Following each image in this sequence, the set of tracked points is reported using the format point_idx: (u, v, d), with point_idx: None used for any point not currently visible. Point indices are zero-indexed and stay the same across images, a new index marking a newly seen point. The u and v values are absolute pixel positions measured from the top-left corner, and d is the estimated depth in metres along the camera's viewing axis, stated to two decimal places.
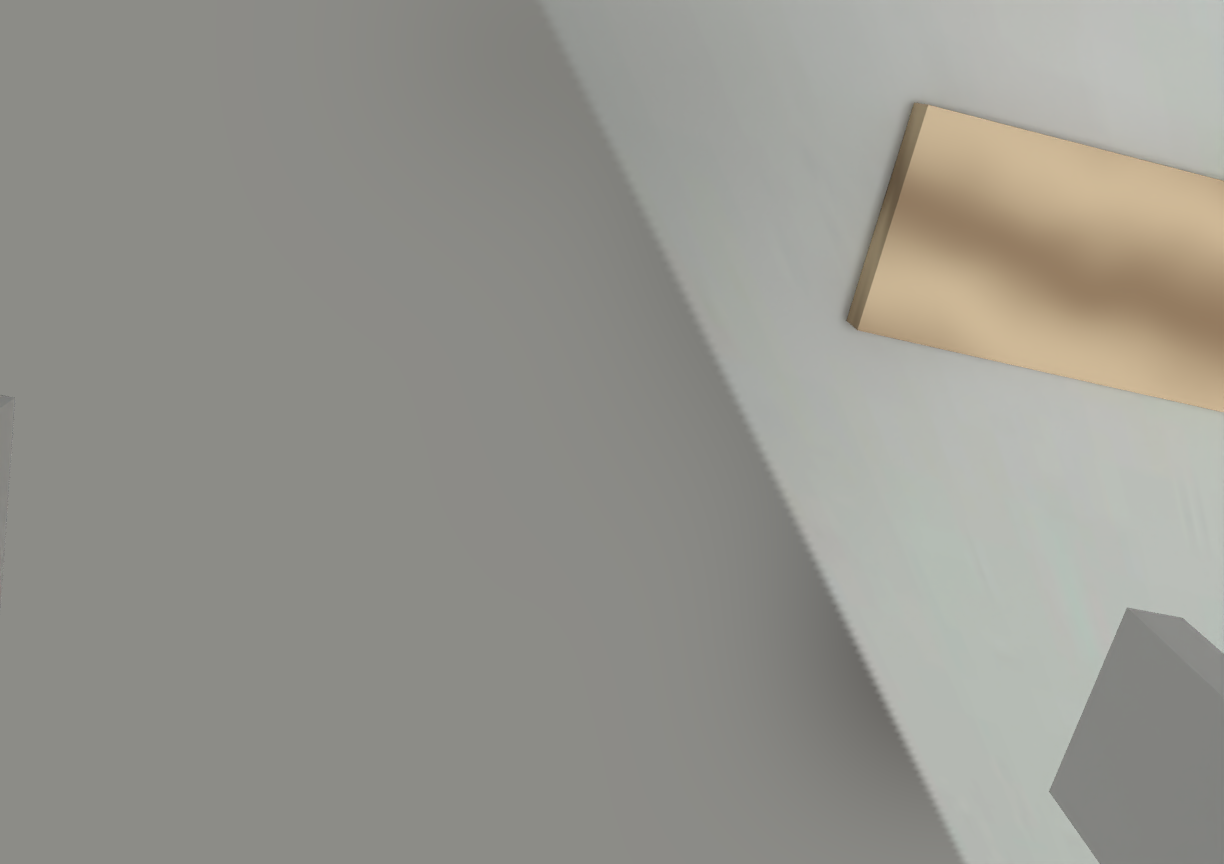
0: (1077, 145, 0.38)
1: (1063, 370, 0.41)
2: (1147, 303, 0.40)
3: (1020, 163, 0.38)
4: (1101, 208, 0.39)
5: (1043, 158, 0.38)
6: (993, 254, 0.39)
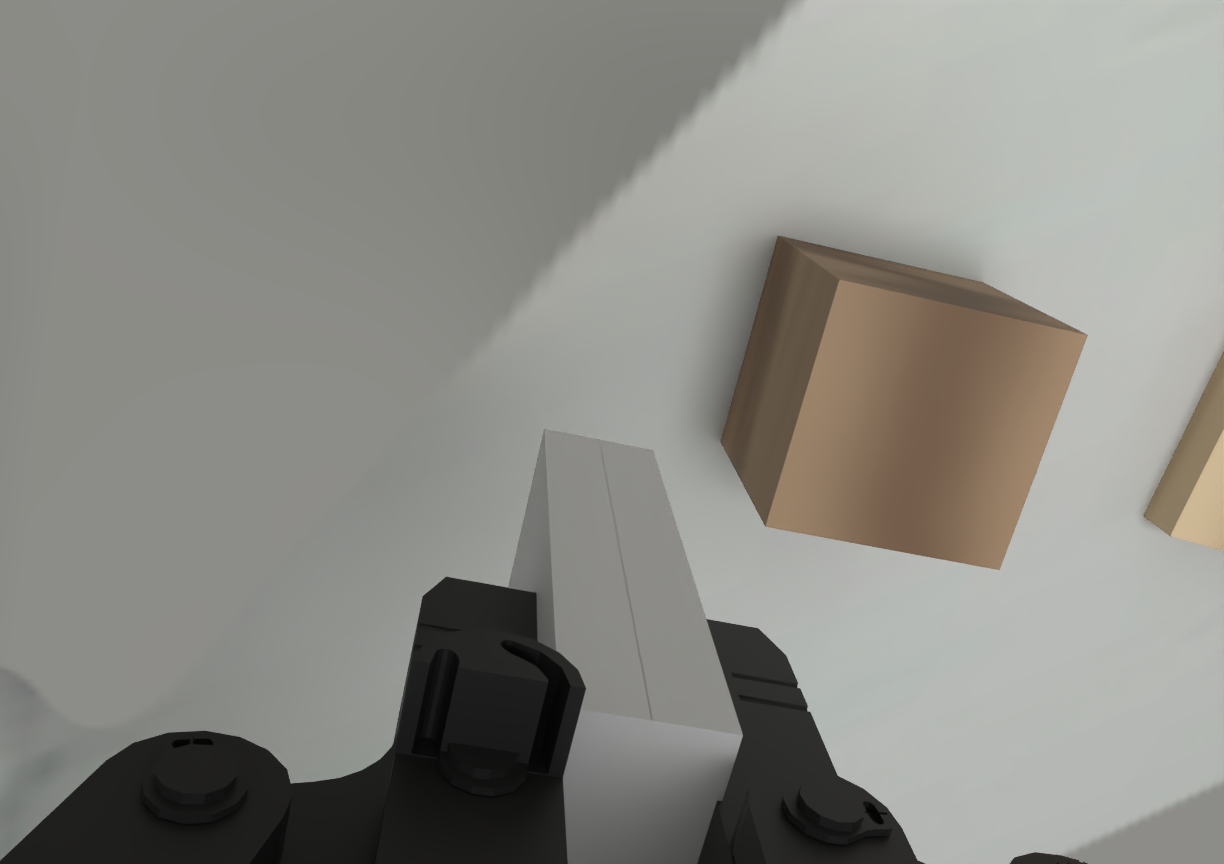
0: None
1: None
2: None
3: None
4: None
5: None
6: None
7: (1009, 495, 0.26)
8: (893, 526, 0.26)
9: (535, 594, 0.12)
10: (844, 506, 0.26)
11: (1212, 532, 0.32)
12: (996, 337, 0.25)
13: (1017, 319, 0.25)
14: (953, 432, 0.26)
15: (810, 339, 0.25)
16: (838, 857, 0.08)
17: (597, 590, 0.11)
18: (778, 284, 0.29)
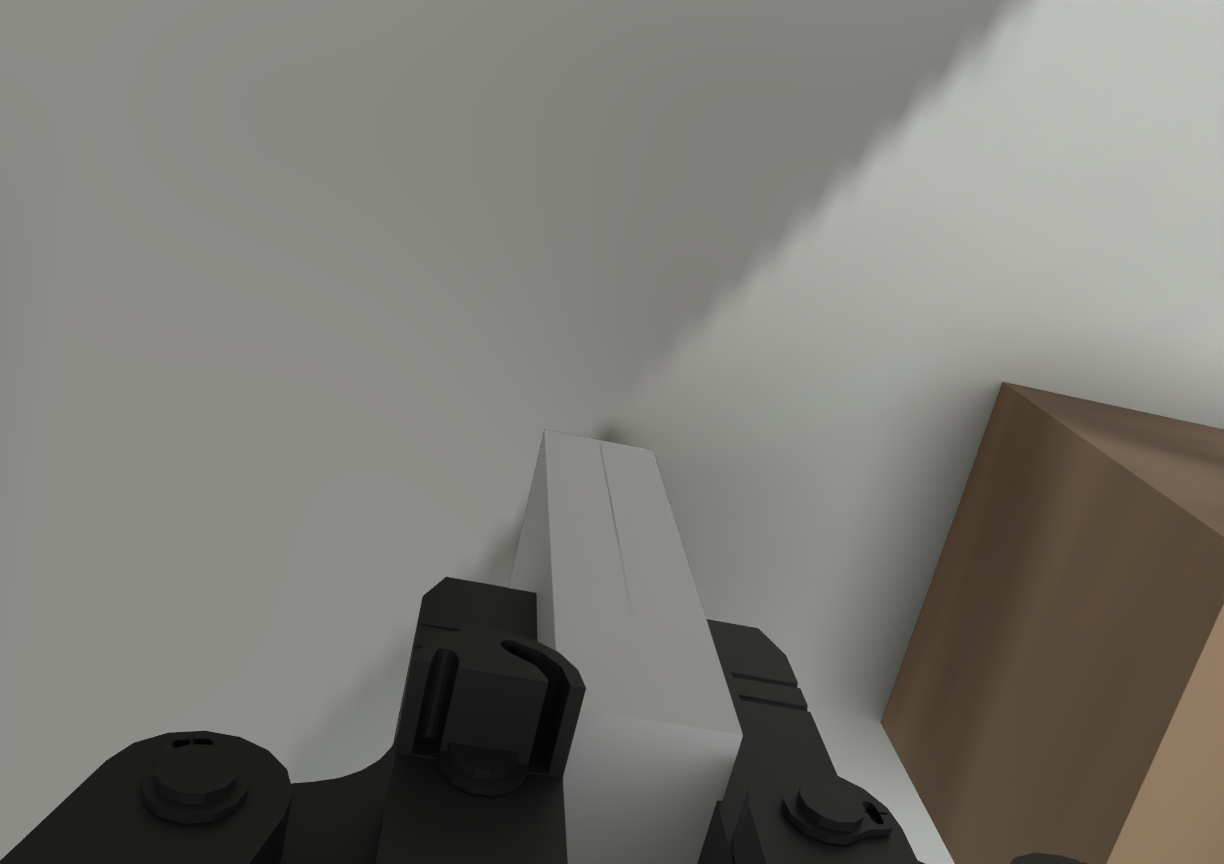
0: None
1: None
2: None
3: None
4: None
5: None
6: None
7: None
8: None
9: (535, 594, 0.12)
10: None
11: None
12: None
13: None
14: None
15: (1145, 652, 0.12)
16: (838, 857, 0.08)
17: (597, 590, 0.11)
18: (1015, 481, 0.16)
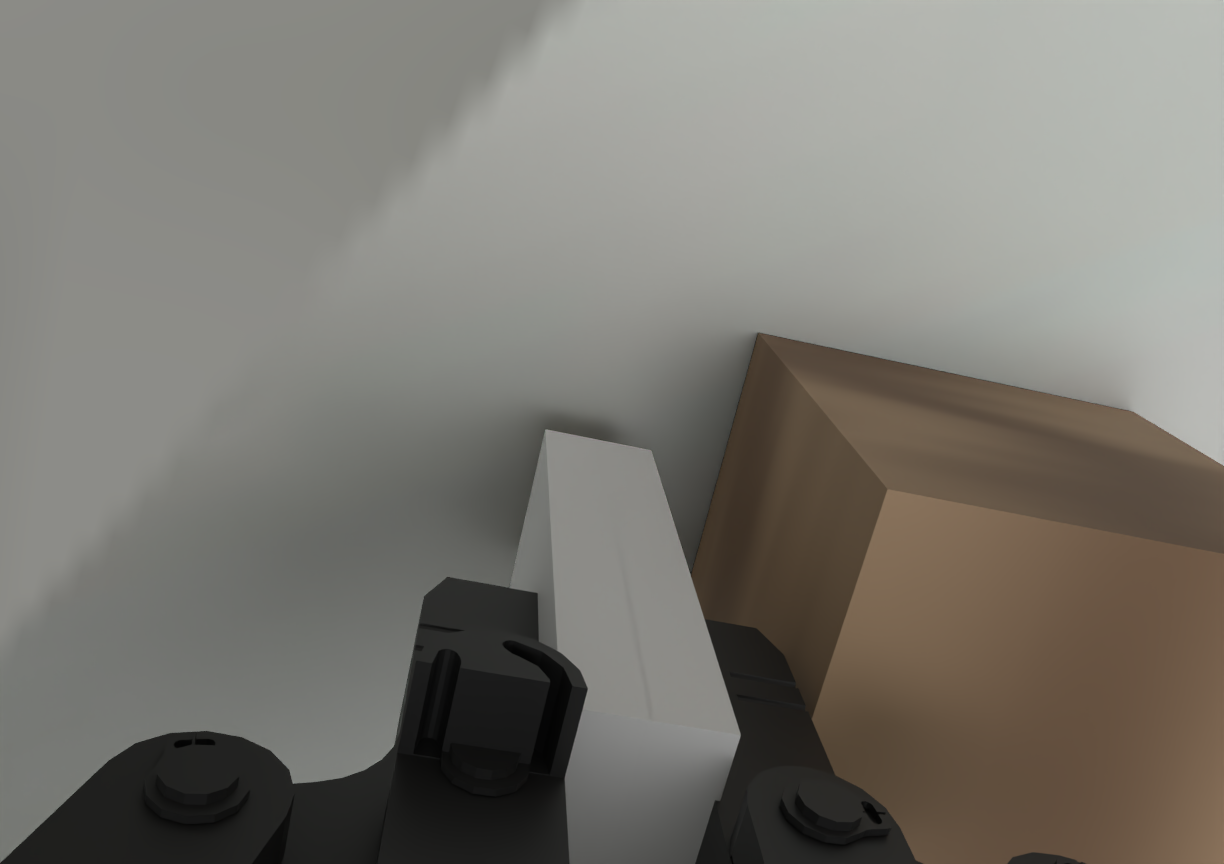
0: None
1: None
2: None
3: None
4: None
5: None
6: None
7: None
8: None
9: (537, 594, 0.12)
10: None
11: None
12: None
13: None
14: (1132, 797, 0.12)
15: (818, 599, 0.12)
16: (837, 857, 0.08)
17: (598, 590, 0.11)
18: (758, 434, 0.15)
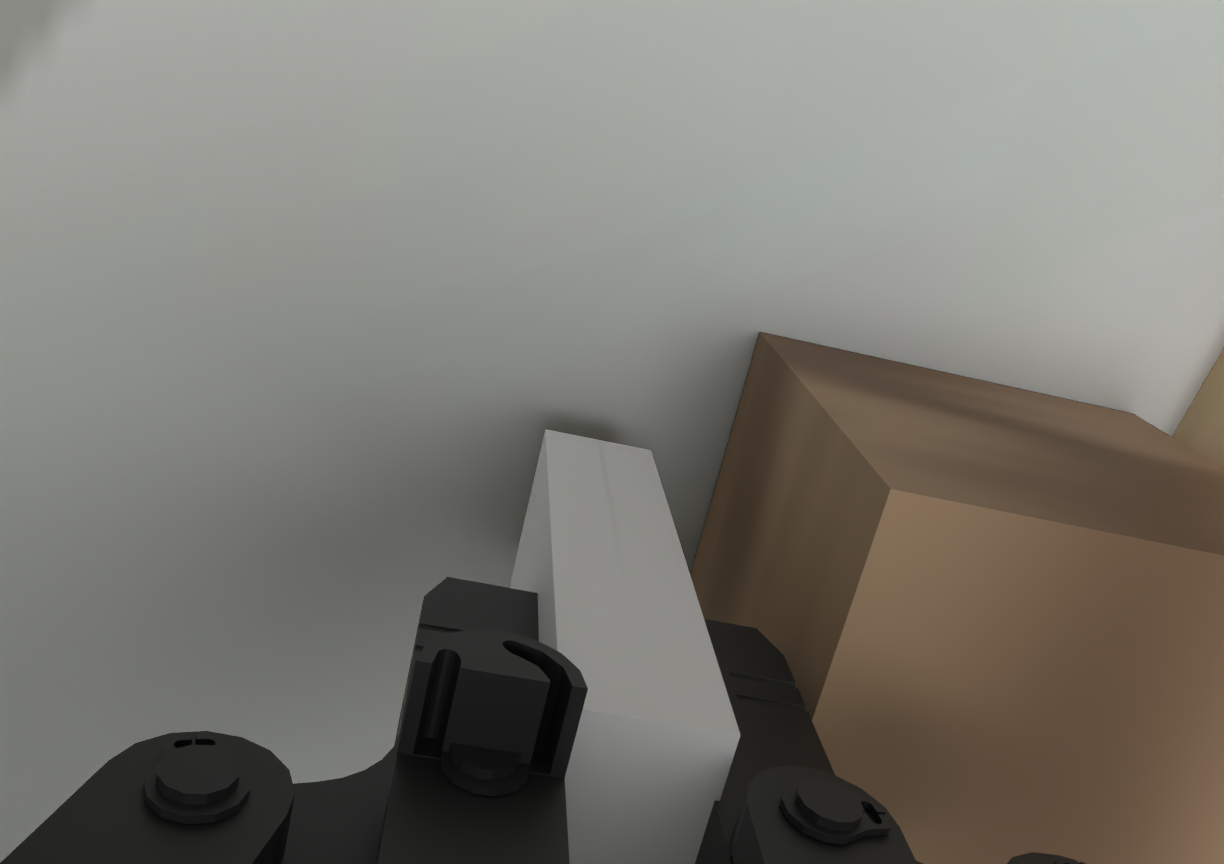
0: None
1: None
2: None
3: None
4: None
5: None
6: None
7: None
8: None
9: (536, 594, 0.12)
10: None
11: None
12: None
13: None
14: (1130, 799, 0.12)
15: (820, 598, 0.12)
16: (836, 857, 0.08)
17: (598, 590, 0.11)
18: (759, 434, 0.15)
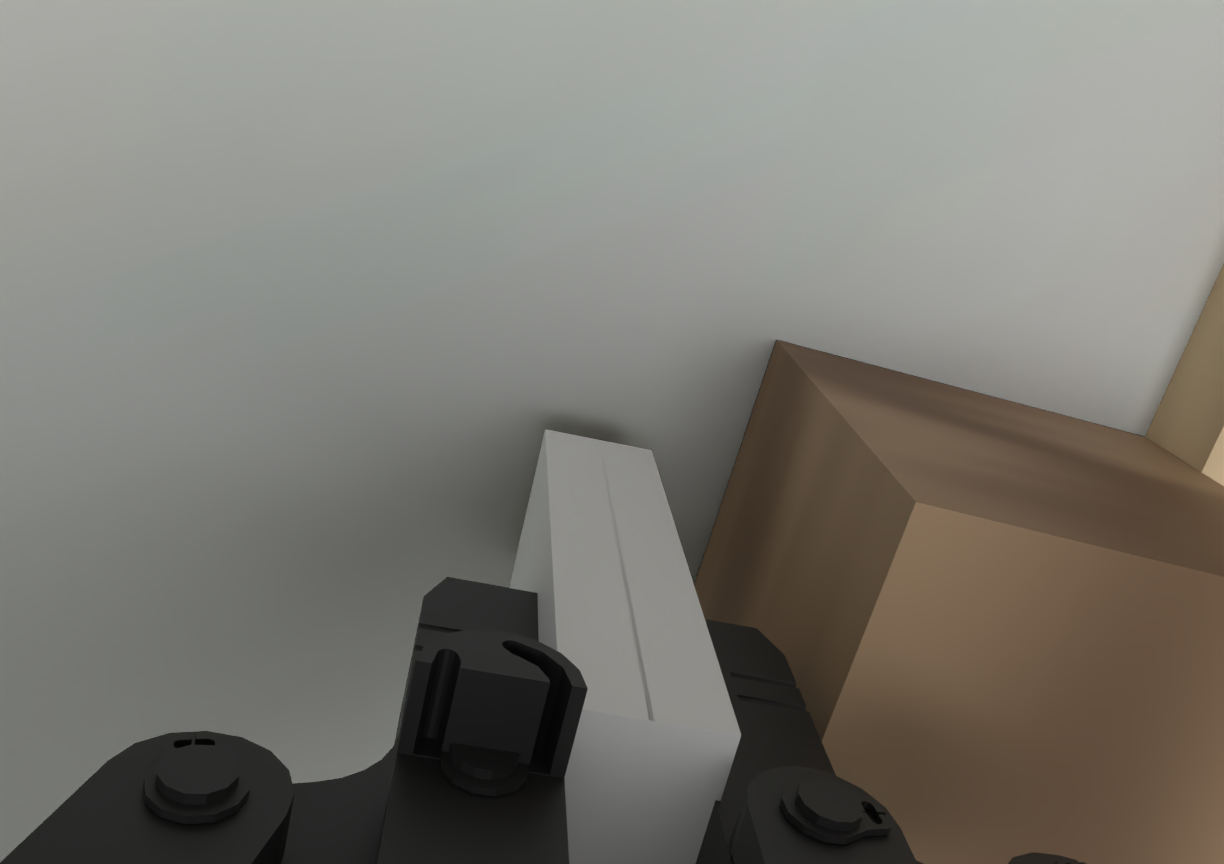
0: None
1: None
2: None
3: None
4: None
5: None
6: None
7: None
8: None
9: (537, 594, 0.12)
10: None
11: None
12: None
13: None
14: (1140, 823, 0.12)
15: (838, 610, 0.11)
16: (837, 857, 0.08)
17: (598, 590, 0.11)
18: (774, 441, 0.15)
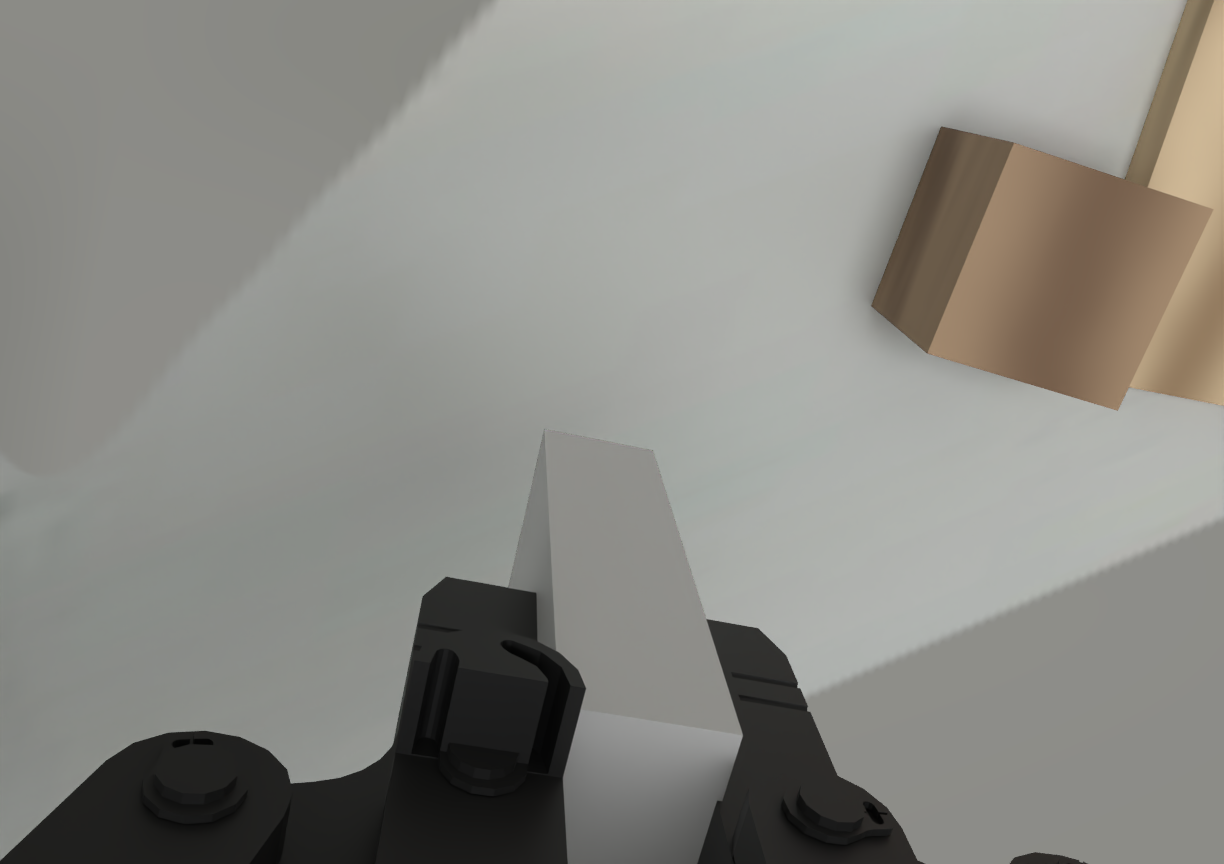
0: None
1: None
2: None
3: None
4: (1216, 167, 0.34)
5: None
6: None
7: (1133, 344, 0.31)
8: (1033, 363, 0.31)
9: (535, 594, 0.12)
10: (995, 341, 0.31)
11: None
12: (1137, 204, 0.30)
13: (1156, 190, 0.30)
14: (1092, 285, 0.31)
15: (980, 197, 0.30)
16: (838, 857, 0.08)
17: (597, 590, 0.11)
18: (941, 164, 0.34)
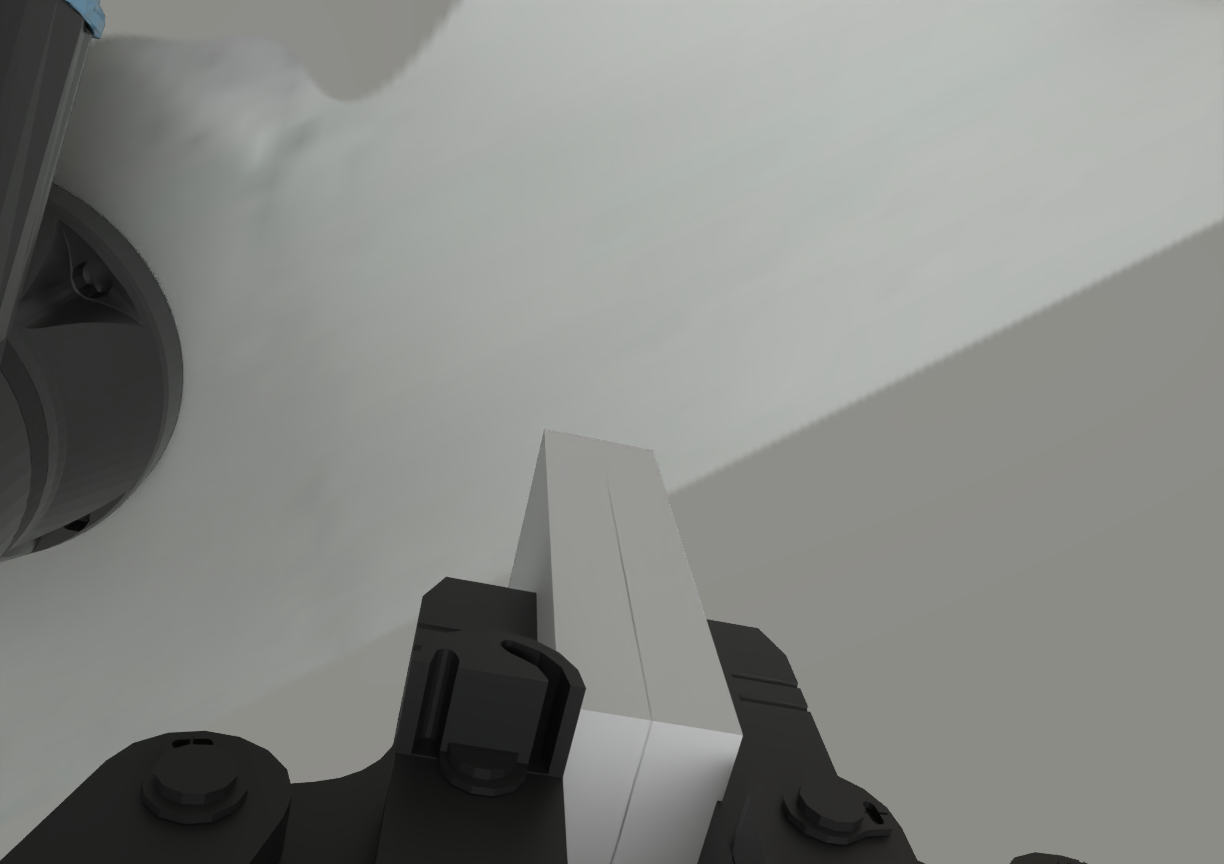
0: None
1: None
2: None
3: None
4: None
5: None
6: None
7: None
8: None
9: (535, 594, 0.12)
10: None
11: None
12: None
13: None
14: None
15: None
16: (839, 857, 0.08)
17: (597, 590, 0.11)
18: None
